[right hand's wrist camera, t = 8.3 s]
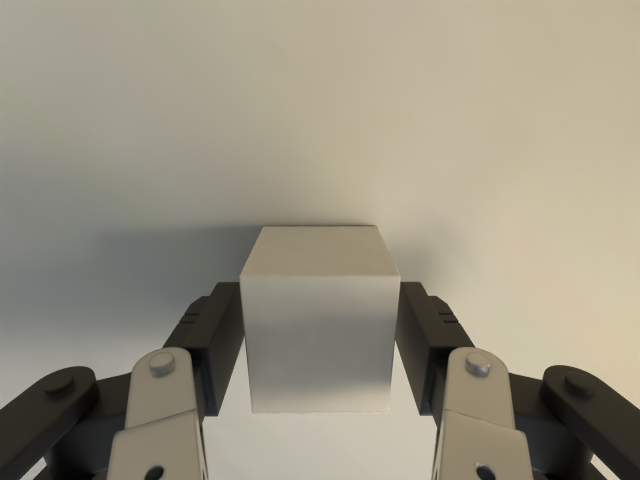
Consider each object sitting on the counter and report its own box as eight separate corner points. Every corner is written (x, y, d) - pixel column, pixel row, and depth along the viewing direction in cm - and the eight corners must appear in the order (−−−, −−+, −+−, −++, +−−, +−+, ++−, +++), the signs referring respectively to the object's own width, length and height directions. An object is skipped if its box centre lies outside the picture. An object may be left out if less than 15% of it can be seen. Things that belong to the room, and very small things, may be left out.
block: (269, 334, 14) (252, 414, 11) (262, 225, 13) (238, 276, 9) (370, 333, 14) (388, 414, 11) (377, 225, 13) (401, 275, 9)
